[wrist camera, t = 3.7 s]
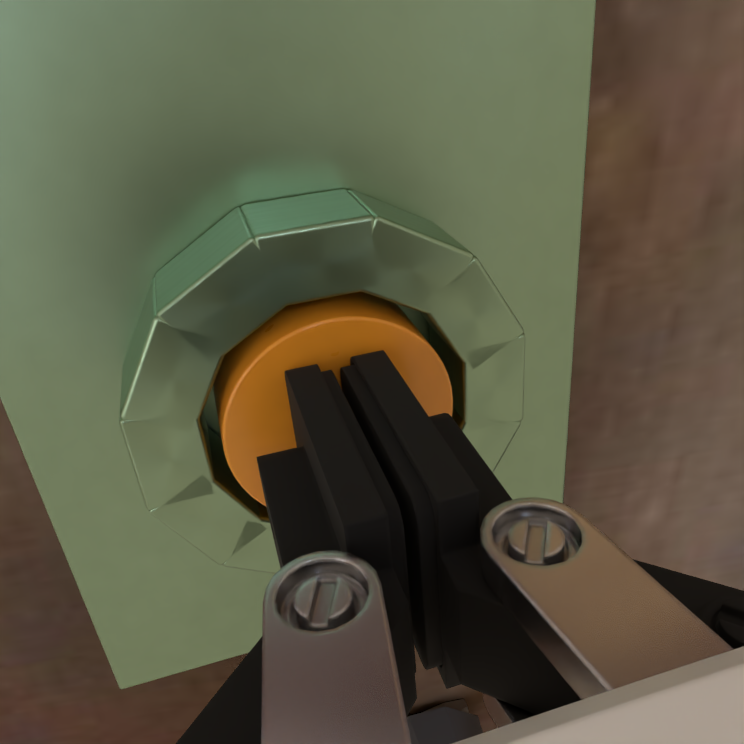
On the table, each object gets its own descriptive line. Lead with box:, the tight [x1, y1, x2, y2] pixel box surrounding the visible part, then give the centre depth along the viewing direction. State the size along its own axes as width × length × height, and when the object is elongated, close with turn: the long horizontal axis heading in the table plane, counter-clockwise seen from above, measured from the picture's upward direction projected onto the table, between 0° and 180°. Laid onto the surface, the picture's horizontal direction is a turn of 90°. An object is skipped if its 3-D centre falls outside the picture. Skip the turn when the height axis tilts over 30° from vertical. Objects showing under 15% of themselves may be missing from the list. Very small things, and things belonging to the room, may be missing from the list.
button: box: [214, 292, 453, 506], centre depth 12 cm, size 4×4×2 cm
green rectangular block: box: [0, 0, 596, 689], centre depth 14 cm, size 14×11×5 cm
